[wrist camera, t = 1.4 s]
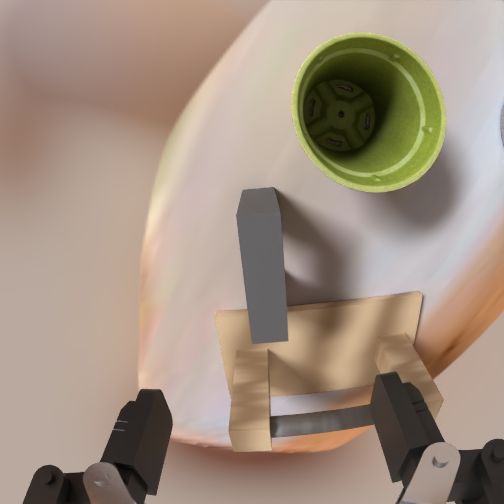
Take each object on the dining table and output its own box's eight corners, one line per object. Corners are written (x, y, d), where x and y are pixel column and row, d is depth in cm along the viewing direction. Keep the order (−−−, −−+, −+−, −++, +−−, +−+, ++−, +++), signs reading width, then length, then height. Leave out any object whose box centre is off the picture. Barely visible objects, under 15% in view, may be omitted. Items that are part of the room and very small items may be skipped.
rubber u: (273, 187, 26) (280, 211, 18) (281, 287, 29) (288, 341, 21) (242, 190, 26) (236, 215, 18) (253, 289, 29) (252, 344, 21)
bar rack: (418, 291, 29) (472, 358, 19) (402, 372, 33) (435, 442, 22) (215, 311, 30) (197, 396, 20) (231, 392, 34) (223, 473, 24)
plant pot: (381, 182, 25) (430, 207, 17) (272, 161, 25) (279, 176, 17) (399, 78, 22) (453, 63, 14) (289, 50, 21) (303, 14, 13)
